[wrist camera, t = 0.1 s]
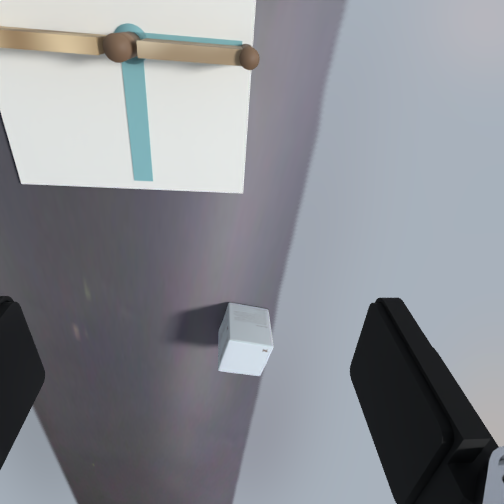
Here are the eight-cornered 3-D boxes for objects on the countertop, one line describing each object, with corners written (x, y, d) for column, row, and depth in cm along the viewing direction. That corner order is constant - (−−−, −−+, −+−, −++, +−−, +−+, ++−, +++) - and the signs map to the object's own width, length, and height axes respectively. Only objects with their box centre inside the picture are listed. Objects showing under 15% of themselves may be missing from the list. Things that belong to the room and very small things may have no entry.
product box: (228, 300, 50) (228, 339, 44) (269, 308, 51) (275, 347, 45) (217, 331, 53) (216, 371, 47) (256, 337, 54) (260, 377, 48)
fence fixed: (118, 30, 32) (100, 32, 27) (255, 41, 33) (260, 45, 28) (121, 55, 33) (104, 61, 28) (253, 66, 34) (258, 73, 29)
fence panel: (112, 32, 31) (94, 34, 27) (114, 53, 32) (97, 58, 28) (-33, 20, 30) (-76, 20, 26) (-26, 42, 31) (-67, 45, 27)
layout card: (-67, -130, 26) (-72, -133, 25) (261, -90, 28) (262, -92, 28) (23, 182, 39) (20, 184, 38) (242, 191, 41) (243, 193, 41)
